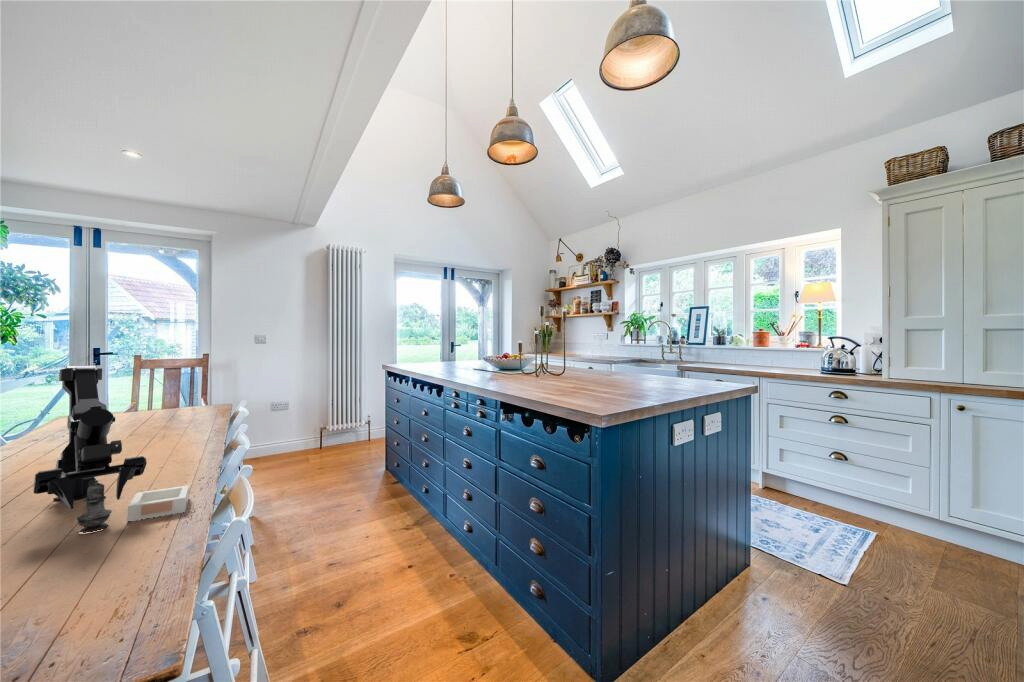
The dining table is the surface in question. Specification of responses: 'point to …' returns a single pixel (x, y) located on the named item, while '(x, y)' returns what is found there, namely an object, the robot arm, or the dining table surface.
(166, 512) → the tagged holder
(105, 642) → the dining table surface
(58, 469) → the robot arm
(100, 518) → the dark chess piece
